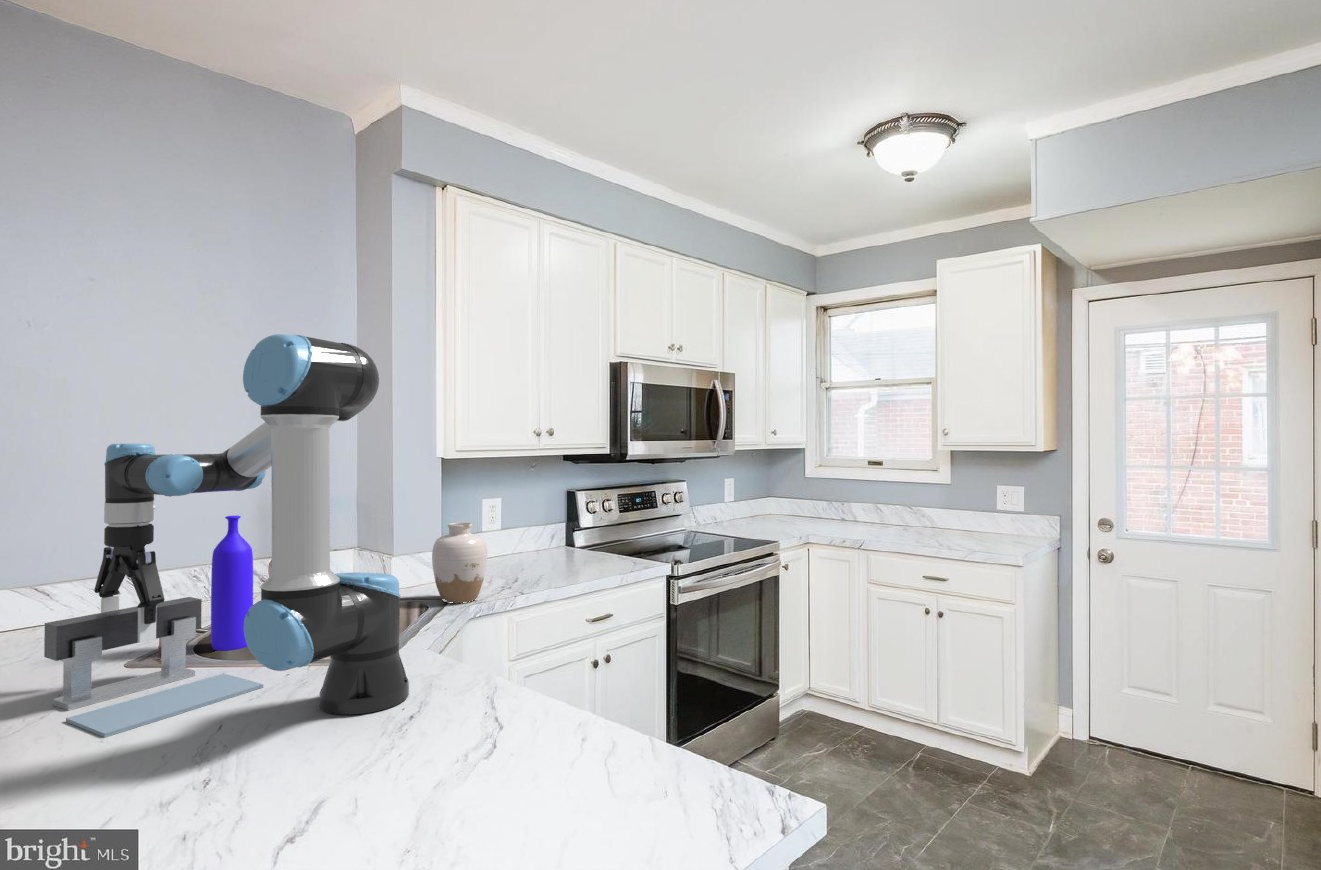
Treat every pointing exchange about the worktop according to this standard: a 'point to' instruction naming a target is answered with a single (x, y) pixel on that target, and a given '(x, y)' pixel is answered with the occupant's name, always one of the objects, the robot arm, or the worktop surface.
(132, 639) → the rail
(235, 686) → the mat
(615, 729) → the worktop surface
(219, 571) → the bottle
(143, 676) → the standards
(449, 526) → the vase
